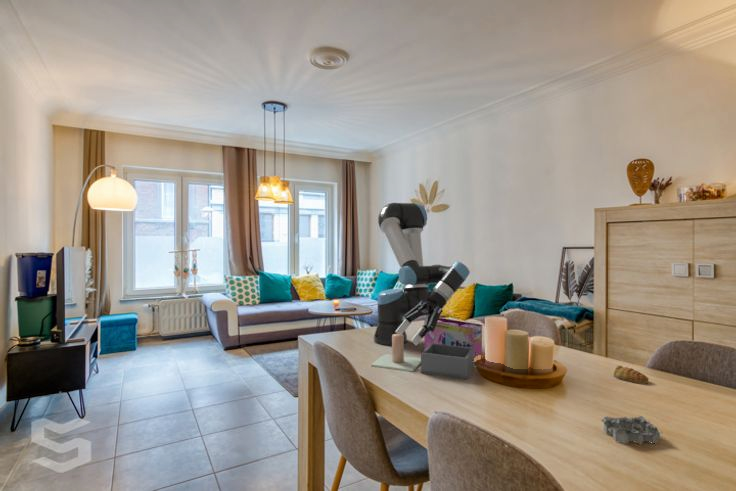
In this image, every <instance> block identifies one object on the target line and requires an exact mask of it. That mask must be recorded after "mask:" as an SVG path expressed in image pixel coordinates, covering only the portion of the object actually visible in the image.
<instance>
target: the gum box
mask: <svg viewBox="0 0 736 491" xmlns="http://www.w3.org/2000/svg"><path fill="white" fill-rule="evenodd" d="M425 319H426V318H424V319H423V320H424V324H425ZM424 324H423V325H424ZM423 339H424V340H423V342H424V344H423V346H424V349H423V351H424V350H425V349H426V348H427V347H428V346H429V345H430V344H431V343H434V344H443V345H452V346H461V347H470V348H474V358H475V357H476V356H478V355H481V354H482V355H483V324H478V323H474V322H473V323H472V322H468V321H461V320H454V319H448V318H443V317H439V319H438V322H437V324H436V327H435V329H434V331H429V332H427V333H426V335H425V336H424V337H423Z"/></svg>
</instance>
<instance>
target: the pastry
mask: <svg viewBox="0 0 736 491" xmlns="http://www.w3.org/2000/svg"><path fill="white" fill-rule="evenodd" d="M612 374H613V376H614V378H616V379H618V380H619V379H621V380H622V381H624V382H629V383H633V384H641V385H642V384H643V385H645V384H647V383H648V382H649V377H648V376H646V375H645V374H643V373H641V372H640V371H638V370H636V369H634V368H630V367H627V366H625V367H624V366H622V365H617V366H616V367H615V369H614V370H613V373H612Z"/></svg>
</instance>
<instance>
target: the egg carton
mask: <svg viewBox="0 0 736 491" xmlns="http://www.w3.org/2000/svg"><path fill="white" fill-rule="evenodd" d="M601 423H603V432H605V433H606V434H605V433H604V434H605V435H607V434H609V435H608V436H612V435H613V436H612V440H613V441H614V440H615V441H619V442H618V443H620V442H622V443H621V444H623V443H628V444H629V443H630V442H629V441H635V442H637V443H642V444H643V443H644V442H643V441H650V442H652V443H657V444H658V442H659V441H658V440H659V437H660V436H661V434H662V435H663V431H660V430H658V428H657V426H654V424H652V423H651V422H650V421H647V420H646V418H645V417H644V416H638V417H637V416H636V417H627V416H624V417H612V416H605V417H603V418H602V419H601ZM615 441H614V442H615ZM657 441H658V442H657ZM635 442H634V443H635ZM650 442H649V443H650ZM637 443H636V444H637ZM652 443H651V444H652Z"/></svg>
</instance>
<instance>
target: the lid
mask: <svg viewBox="0 0 736 491" xmlns="http://www.w3.org/2000/svg"><path fill="white" fill-rule="evenodd" d="M404 346H405V343H404V335H403V334H393V335H392V345H391V353H392V354H388V353H384V354H383V355H381V357H379V358H378V359H376V360H375V361H374V362H372V363H371V367H376V368H381V369H382V368H383V369H389V370H391V369H392V370H396V371H404V372H411V373H412V372H414V371H415V370H416V369H417V368H418V367H419V366H421V357H414V356H413V357H412V356H405V347H404Z"/></svg>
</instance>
